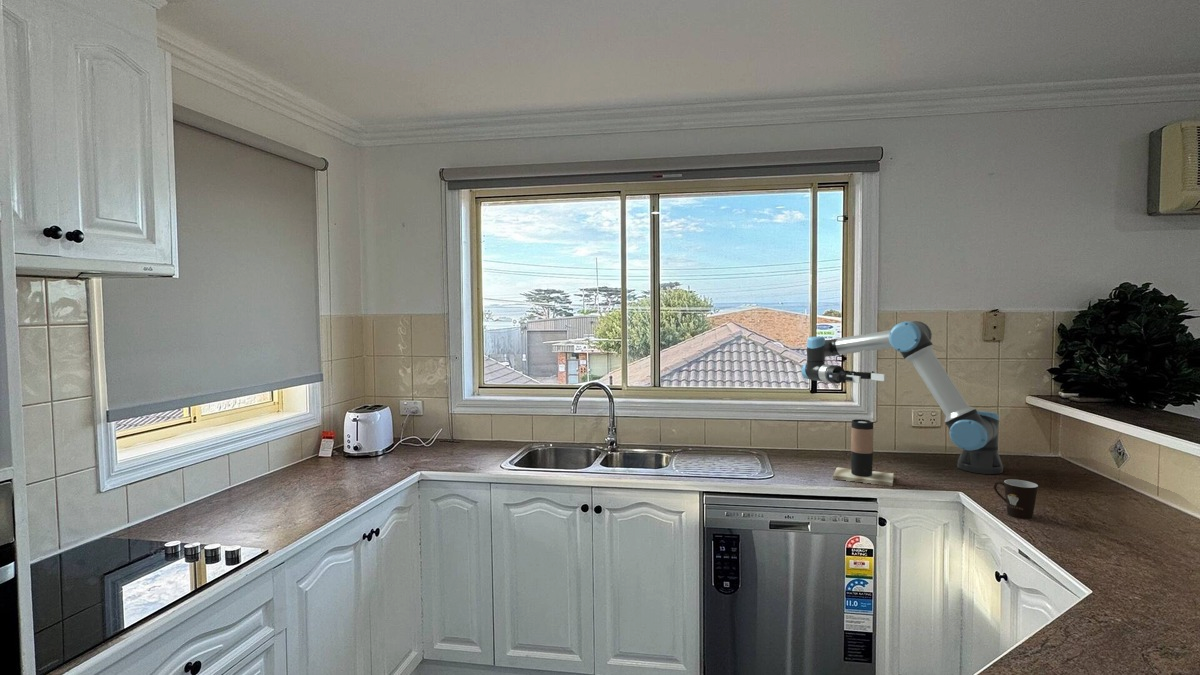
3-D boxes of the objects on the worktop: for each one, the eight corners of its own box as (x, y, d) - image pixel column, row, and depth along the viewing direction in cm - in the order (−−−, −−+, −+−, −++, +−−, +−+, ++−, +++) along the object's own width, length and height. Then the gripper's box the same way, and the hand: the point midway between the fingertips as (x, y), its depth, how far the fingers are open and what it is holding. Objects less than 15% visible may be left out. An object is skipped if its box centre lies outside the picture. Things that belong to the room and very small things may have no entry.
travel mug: (847, 474, 229) (848, 421, 228) (855, 470, 235) (855, 418, 234) (868, 478, 224) (869, 423, 223) (875, 473, 230) (876, 421, 229)
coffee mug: (1043, 520, 184) (1045, 487, 183) (1014, 520, 184) (1015, 487, 183) (1018, 507, 195) (1019, 476, 195) (990, 507, 195) (991, 476, 195)
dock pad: (893, 477, 230) (893, 473, 230) (892, 486, 219) (892, 482, 219) (836, 471, 239) (836, 467, 239) (832, 479, 228) (833, 475, 228)
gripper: (853, 380, 269) (894, 386, 250) (809, 384, 259) (849, 390, 239) (853, 363, 269) (894, 367, 249) (809, 366, 258) (849, 371, 239)
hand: (872, 378), depth 244 cm, fingers open, 13 cm apart
